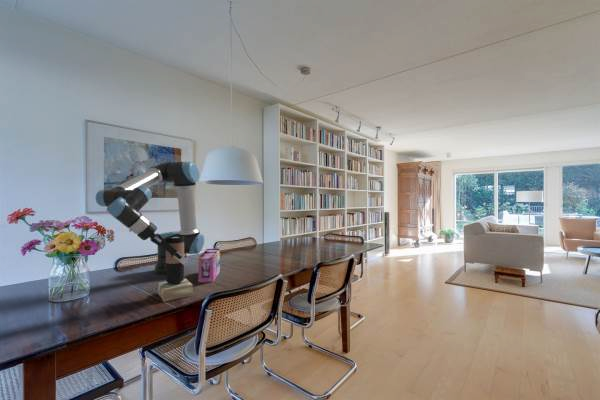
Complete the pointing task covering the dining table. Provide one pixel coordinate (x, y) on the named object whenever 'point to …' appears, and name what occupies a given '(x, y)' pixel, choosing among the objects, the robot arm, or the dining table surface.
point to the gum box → (209, 265)
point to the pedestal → (175, 290)
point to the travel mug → (174, 260)
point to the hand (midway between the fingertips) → (183, 260)
